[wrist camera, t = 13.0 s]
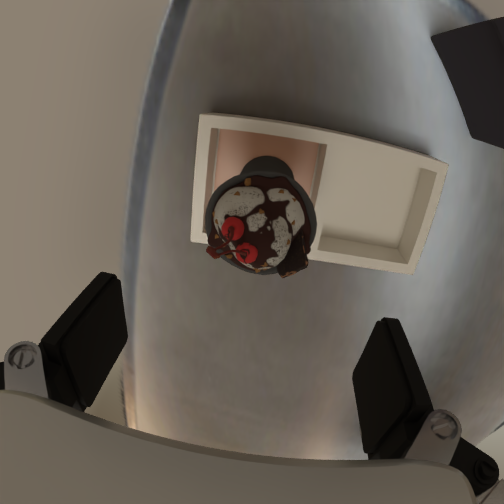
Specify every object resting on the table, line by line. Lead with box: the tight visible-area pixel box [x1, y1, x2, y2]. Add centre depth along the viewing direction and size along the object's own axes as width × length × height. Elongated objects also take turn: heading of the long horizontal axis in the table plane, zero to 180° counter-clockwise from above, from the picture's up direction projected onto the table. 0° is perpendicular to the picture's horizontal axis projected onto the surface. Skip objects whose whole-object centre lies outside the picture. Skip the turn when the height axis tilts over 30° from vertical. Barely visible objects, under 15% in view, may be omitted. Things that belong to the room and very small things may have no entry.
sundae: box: [205, 156, 317, 278], centre depth 21 cm, size 7×7×15 cm
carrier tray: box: [191, 112, 449, 275], centre depth 26 cm, size 21×11×4 cm, turn 83°
